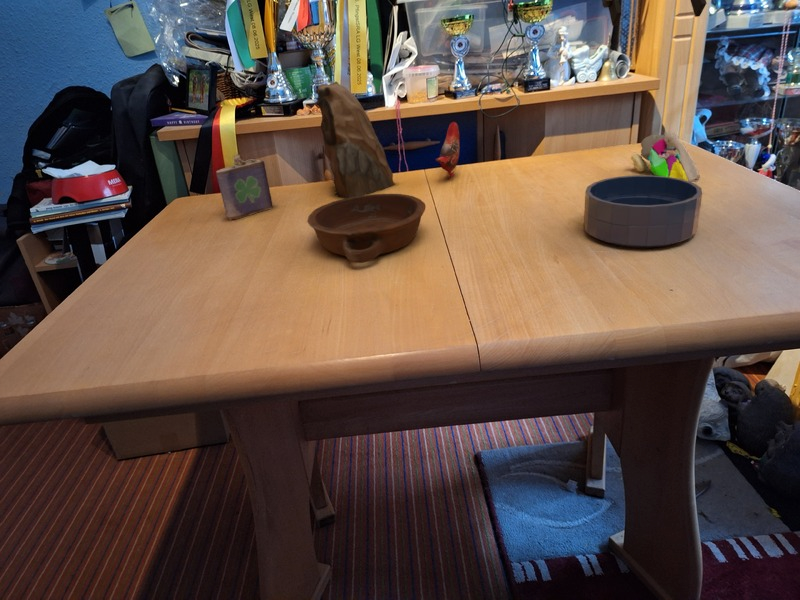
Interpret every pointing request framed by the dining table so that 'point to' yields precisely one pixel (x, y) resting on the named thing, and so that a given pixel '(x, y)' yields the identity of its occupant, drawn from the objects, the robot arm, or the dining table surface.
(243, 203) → the flask
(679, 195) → the bowl
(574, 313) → the dining table surface
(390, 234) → the dish
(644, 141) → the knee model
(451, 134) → the decorative bird figurine
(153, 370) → the dining table surface
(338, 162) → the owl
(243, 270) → the dining table surface
